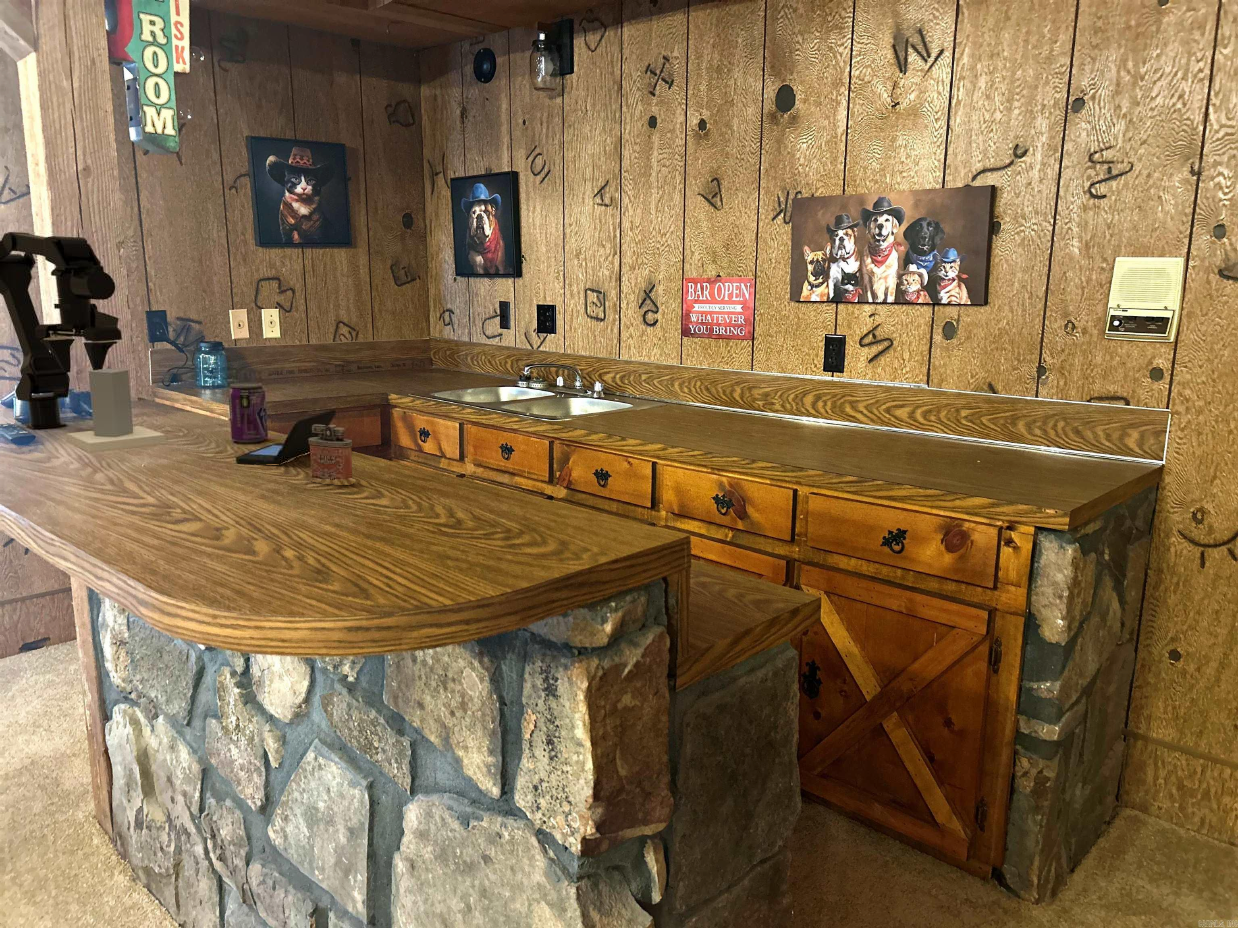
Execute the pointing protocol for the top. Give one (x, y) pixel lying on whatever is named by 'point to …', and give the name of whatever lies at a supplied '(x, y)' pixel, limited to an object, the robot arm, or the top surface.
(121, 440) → the slab
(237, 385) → the beverage can
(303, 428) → the game console
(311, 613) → the top surface
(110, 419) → the tall block
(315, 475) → the lighter
